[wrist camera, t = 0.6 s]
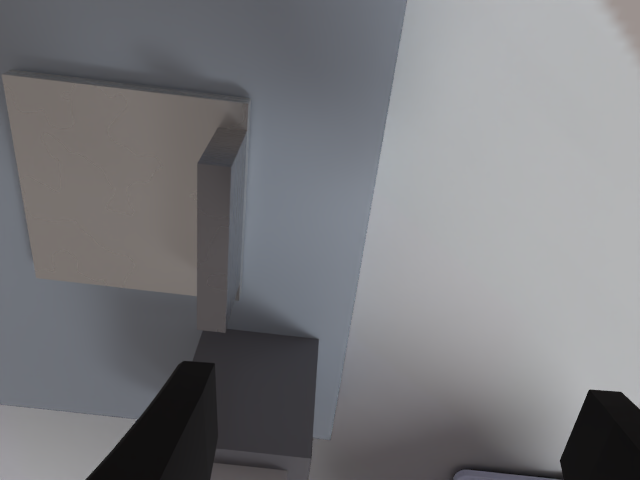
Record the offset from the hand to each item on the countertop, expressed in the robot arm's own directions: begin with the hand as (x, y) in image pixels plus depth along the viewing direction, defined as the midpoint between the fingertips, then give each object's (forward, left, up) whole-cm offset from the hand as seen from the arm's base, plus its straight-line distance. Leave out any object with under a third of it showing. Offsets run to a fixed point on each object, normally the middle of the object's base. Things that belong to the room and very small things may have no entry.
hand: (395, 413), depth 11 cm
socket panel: (-1, +8, -10) cm, 13 cm away
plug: (-7, +3, -8) cm, 10 cm away
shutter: (0, +7, -7) cm, 10 cm away
